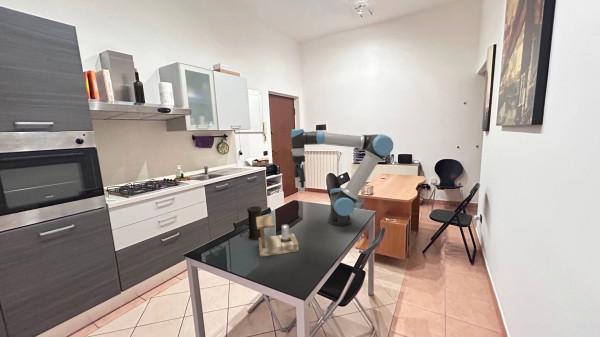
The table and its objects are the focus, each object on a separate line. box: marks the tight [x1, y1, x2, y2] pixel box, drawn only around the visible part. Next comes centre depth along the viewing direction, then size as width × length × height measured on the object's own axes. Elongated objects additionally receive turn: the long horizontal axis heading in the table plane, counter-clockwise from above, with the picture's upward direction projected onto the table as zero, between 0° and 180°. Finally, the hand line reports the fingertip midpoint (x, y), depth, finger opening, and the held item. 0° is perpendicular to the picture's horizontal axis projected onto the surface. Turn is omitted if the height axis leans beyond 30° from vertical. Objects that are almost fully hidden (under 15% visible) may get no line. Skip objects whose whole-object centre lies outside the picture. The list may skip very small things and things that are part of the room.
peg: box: [280, 224, 290, 243], centre depth 133 cm, size 4×4×12 cm
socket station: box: [256, 215, 300, 258], centre depth 132 cm, size 20×15×16 cm
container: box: [247, 205, 263, 241], centre depth 147 cm, size 9×9×18 cm
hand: (300, 190), depth 149 cm, fingers open, 13 cm apart
